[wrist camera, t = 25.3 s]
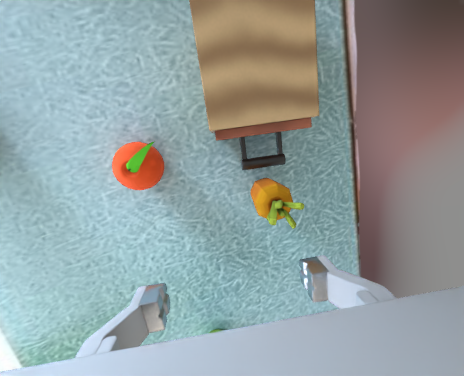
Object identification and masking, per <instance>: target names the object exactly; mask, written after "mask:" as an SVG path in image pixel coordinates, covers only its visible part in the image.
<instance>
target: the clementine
mask: <svg viewBox="0 0 464 376" xmlns="http://www.w3.org/2000/svg"><path fill="white" fill-rule="evenodd" d="M154 142H155V141H154ZM154 142H152V143H149V144H146V143H142V142H132V143H129V144H126V145H124V146H122V147H121V148H119V150H118V151H117V152H116V153H115V156H114V158H113V162H112V168H113V173H114V175H115V177H116V178H117V180H118V181H119V182H120V183H121V184H122V185H124V186H126V187H128V188H130V189H134V190H144V189H148V188H151V187H153V186H154V185H156V184H157V183H158V182H159V181H160V179H161V177H162V175H163V173H164V161H163V158H162V156H161V155H160V153H159V152H158V151H157V150H156V149H155V148H154V147H152V146H151V145H152V144H153V143H154Z"/></svg>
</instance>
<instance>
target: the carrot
mask: <svg viewBox="0 0 464 376" xmlns="http://www.w3.org/2000/svg"><path fill="white" fill-rule="evenodd" d="M251 196H252V199H253V202H254V205H255V208H256V210H257V213H258V215H259V216H262V217H264V218H266V219H267V220H268V221H269V224H271V225H276V221H277V220H279V219H282V218H284V217H285V218H286V219H287V221H288V223H289V224H290V226H291V227H292V228H293V229H294V228H295V227H296V223H295V221H294V220H293V218H292V217H291V216H290V215H289V212H290V210H291V208H293V209H299V210H301V209H304V204H303V203H293V200H292V197H291V193H290V190H289V188H287V187H285V186H284V185H282V184H280V183H278V182H275V181H273V180H271V179H269V178H263V179H260V180H257V181H255V183H254V185H253V187H252V189H251Z"/></svg>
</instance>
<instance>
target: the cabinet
mask: <svg viewBox="0 0 464 376" xmlns="http://www.w3.org/2000/svg"><path fill="white" fill-rule="evenodd" d="M189 2H190V8H191V15H192V21H193V28H194V34H195V41H196V47H197V53H198V60H199V66H200V73H201V79H202V86H203V92H204V99H205V105H206V112H207V118H208V124H209V130H210V132H212V133H215V130H223V129H230V128H237V127H244V126H252V125H259V124H266V123H273V122H280V121H288V120H295V119H302V118H309V117H311V118H312V117H316V116H319V97H318V71H317V46H316V20H315V0H189Z"/></svg>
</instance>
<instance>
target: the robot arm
mask: <svg viewBox="0 0 464 376" xmlns="http://www.w3.org/2000/svg"><path fill="white" fill-rule="evenodd" d="M299 266H300V267H301V271H300V278H301V282H302V284H303V286H304V288H305V289H307V290H308V295H309V296H310V298H311V300H312V301H313V302H320V301H327V300H328V301H329V302H330V303H332V304H333V305H335V306H336V307H338V308H339V309H337V310H331V311H326V312H321V313H315V314H310V315H305V316H299V317H294V318H289V319H283V320H278V321H272V322H267V323H262V324H256V325H251V326H246V327H240V328H235V329H229V330H224V331H219V332H213V333H208V334H202V335H197V336H192V337H186V338H181V339H176V340H170V341H165V342H159V343H154V344H149V345H143V346H140V345H141V343H142V342H143V341H144V340H145V338H146V337H147V336H148V335H149V333H152V332H157V331H161V330H165V326H166V322H167V316H166V315H167V314H168V313H169V310H170V298H169V295H168V294H167V293H166V291H167V286H166V284H165V283H160V284H153V285H148V286H141V287H138V289H137V291H136V293H135V295H134V297H133V299H132V301H131V303H130V305H129V307H128V308H125V309H123V310H122V311H121V312H120V313H119V314H117V315H116V316H115V317H114V318H112V319H111V320H110V321H109V322H107V323H106V324H105V325H104V326H102V327H101V328H100V329H99V330H97V331H96V332H95V333H94V334H92V335H91V336H90V337H89V338H88V339H86V340H85V342H84V343H83V345H82V346H81V348H80V350H79V351H78V353H77V354H76V356H75V358H73V359H68V360H63V361H57V362H52V363H47V364H41V365H36V366H30V367H25V368H20V369H14V370H9V371H2V372H0V376H464V286H461V287H455V288H450V289H444V290H439V291H434V292H429V293H423V294H418V295H412V296H407V297H402V298H396V297H395V296H394V295H393V294H392V293H391V292H390V291H389V290H387V289H386V288H385V287H384V286H382V285H379V284H377V283H374V282H372V281H369V280H366V279H364V278H361V277H359V276H356V275H353V274H351V273H348V272H346V271H343V270H338V269H337V268H336V267H335V266H334V265H333V264H332V263H331V261H330V260H329V259H328V258H327V257H326V256H325V255H320V256H315V257H311V258H306V259H300V260H299Z"/></svg>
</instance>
